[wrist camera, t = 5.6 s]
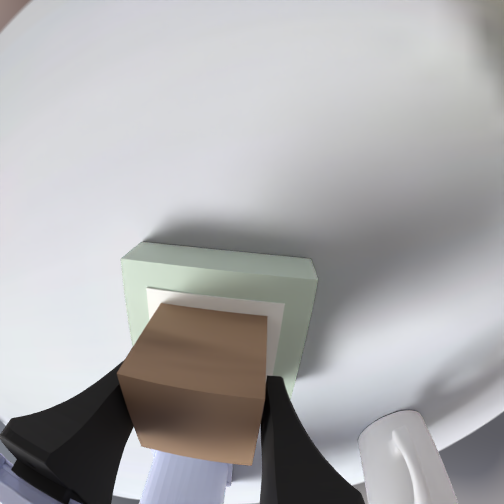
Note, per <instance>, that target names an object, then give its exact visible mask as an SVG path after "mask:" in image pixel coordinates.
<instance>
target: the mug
mask: <svg viewBox="0 0 504 504" xmlns="http://www.w3.org/2000/svg"><path fill="white" fill-rule="evenodd" d="M358 444H359V450H360V457H361V463H362V468H363V474H364V480H365V486H366V492H367V499H368V504H458V501H457V498H456V495H455V493H454V490H453V487H452V485H451V482H450V480H449V477H448V475H447V472H446V470H445V467H444V465H443V462H442V460H441V457H440V456H439V453H438V450H437V448H436V446H435V443H434V441H433V439H432V436H431V434H430V432H429V430H428V428H427V426H426V424H425V422H424V420H423V418H422V416H421V414H420V413H419V412H417V411H413V410H405V411H399V412H395V413H392V414H389V415H387V416H385V417H382V418H380V419H379V420H377V421H375V422H373V423H372V424H371V425H369V426H368V427H367V428H366V429H365V430H364V431H363V432H362V433H361V435H360V436H359V439H358Z"/></svg>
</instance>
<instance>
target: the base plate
mask: <svg viewBox="0 0 504 504" xmlns="http://www.w3.org/2000/svg"><path fill="white" fill-rule="evenodd" d="M121 267H122V277H123V286H124V294H125V302H126V309H127V316H128V322H129V328H130V334H131V340H132V345H133V346H134V344H135V343H136V341H137V339H138V338H139V336H140V335H141V333H142V332H143V330H144V328H145V327H146V325H147V324H148V322H149V321H150V319H151V317H152V316H153V314H154V313H155V311H156V310H157V308H158V307H159V305H160V304H161V303H165V304H172V305H179V306H186V307H193V308H201V309H208V310H216V311H225V312H234V313H243V314H252V315H262V316H267V355H266V379H267V375H268V376H281V377H282V378H283V379H284V383H285V387H286V390H287V393H288V395H289V398H290V399H291V396H292V392H293V388H294V384H295V381H296V377H297V373H298V369H299V365H300V361H301V357H302V353H303V349H304V344H305V340H306V336H307V331H308V327H309V323H310V318H311V313H312V309H313V304H314V299H315V294H316V289H317V284H318V277H317V274H316V272H315V269H314V266H313V263H312V260H311V259H309V258H299V257H289V256H279V255H269V254H259V253H248V252H238V251H228V250H218V249H208V248H198V247H188V246H178V245H168V244H158V243H148V242H141V243H139V244H138V245H137V246H136V247H134V248H133V249H132V250H131V251H129V252H128V253H127V254H126V255H124V256H123V257H122V258H121Z"/></svg>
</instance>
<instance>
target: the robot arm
mask: <svg viewBox="0 0 504 504" xmlns="http://www.w3.org/2000/svg"><path fill="white" fill-rule="evenodd" d="M123 362H124V361H123ZM123 362H121V363H120V364H119V365H118V366H116V367H115V368H114V369H113V370H112V371H110V372H109V373H108V374H106V375H105V376H104V377H103V378H101V379H100V380H99V381H97V382H96V383H95V384H93V385H92V386H90V387H89V388H87V389H86V390H84V391H83V392H81V393H80V394H78V395H76V396H75V397H73V398H71V399H69V400H67V401H65V402H63V403H61V404H58V405H56V406H54V407H52V408H49V409H46V410H44V411H41V412H37V413H34V414H30V415H26V416H21V417H16V418H12V419H11V420H10V421H9V423H8V424H7V425H6V427H5V429H4V430H3V431H2V433H1V434H0V439H1V441H2V443H3V444H4V445H5V446H6V447H7V448H8V450H9V451H10V452H11V453H12V454H13V455H14V456H15V457H16V459H17V460H16V462H15V464H14V465H13V464H12V463H11V462H9V461H8V460H7V459H6V458H5V457H4V456H3V455H2V454H1V453H0V504H111V500H112V495H113V489H114V484H115V480H116V475H117V471H118V468H119V464H120V460H121V457H122V454H123V451H124V447H125V445H126V442H127V440H128V438H129V436H130V433H131V431H132V429H133V427H134V425H133V423H132V420H131V417H130V414H129V411H128V409H127V406H126V403H125V399H124V396H123V393H122V390H121V387H120V383H119V380H118V376H117V372H118V370H119V369H120V367H121V365H122V364H123ZM261 447H262V482H261V494H260V504H365V503H364V500H363V497H362V495H361V493H360V492H359V491H358V490H357V489H355V488H354V487H353V486H352V485H351V484H349V483H348V482H347V481H346V480H345V479H344V478H343V477H342V476H341V475H340V474H339V473H338V472H337V471H336V470H335V469H334V468H333V467H332V466H331V465H330V464H329V462H328V461H327V460H326V459H325V458H324V457H323V456H322V454H321V453H320V452H319V450H318V449H317V448H316V446H315V445H314V443H313V442H312V440H311V439H310V437H309V436H308V434H307V433H306V431H305V429H304V427H303V426H302V424H301V422H300V420H299V418H298V416H297V414H296V412H295V410H294V408H293V405H292V403H291V401H290V398H289V395H288V393H287V390H286V387H285V383H284V379H283V378H282V377H281V376H268V375H267V379H266V387H265V402H264V407H263V413H262V418H261ZM151 450H152V453H153V456H154V460H153V463H152V466H151V469H150V472H149V475H148V478H147V481H146V484H145V487H144V490H143V493H142V497H141V500H140V503H139V504H224V497H225V489H226V486H227V487H229V486H231V481H232V470H233V464H230V463H222V462H214V461H208V460H202V459H196V458H190V457H185V456H180V455H175V454H171V453H166V452H162V451H158V450H154V449H151Z"/></svg>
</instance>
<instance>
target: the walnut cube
mask: <svg viewBox="0 0 504 504" xmlns="http://www.w3.org/2000/svg"><path fill="white" fill-rule="evenodd" d="M266 355H267V316H262V315H252V314H243V313H234V312H225V311H216V310H208V309H201V308H193V307H186V306H179V305H172V304H165V303H161V304H160V305H159V307H158V308H157V310H156V311H155V313H154V314H153V316H152V317H151V319H150V321H149V322H148V324H147V325H146V327H145V328H144V330H143V332H142V333H141V335H140V336H139V338H138V339H137V341H136V343H135V344H134V346H133V347H132V349H131V351H130V352H129V354H128V356H127V357H126V359H125V360H124V362H123V364H122V365H121V367H120V369H119V370H118V372H117V376H118V380H119V383H120V387H121V390H122V393H123V396H124V399H125V403H126V406H127V409H128V411H129V414H130V417H131V420H132V423H133V425H134V428H135V431H136V433H137V436H138V439H139V441H140V444H141V446H143V447H146V448H150V449H154V450H158V451H162V452H166V453H171V454H175V455H180V456H185V457H190V458H196V459H202V460H208V461H214V462H222V463H230V464H239V465H250V466H252V462H253V457H254V452H255V448H256V443H257V438H258V433H259V428H260V423H261V418H262V413H263V407H264V402H265V387H266Z"/></svg>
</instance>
